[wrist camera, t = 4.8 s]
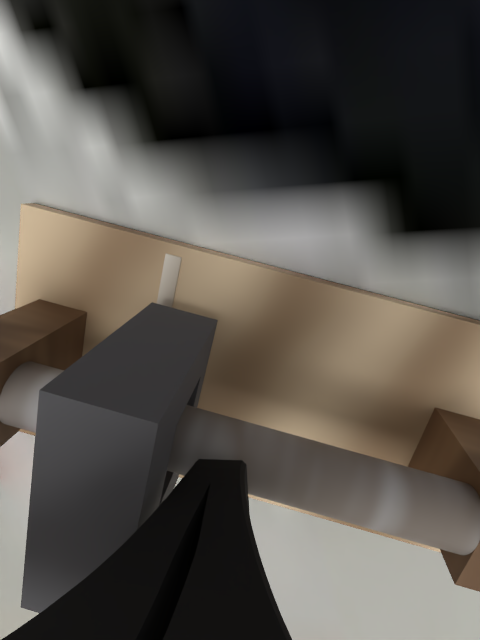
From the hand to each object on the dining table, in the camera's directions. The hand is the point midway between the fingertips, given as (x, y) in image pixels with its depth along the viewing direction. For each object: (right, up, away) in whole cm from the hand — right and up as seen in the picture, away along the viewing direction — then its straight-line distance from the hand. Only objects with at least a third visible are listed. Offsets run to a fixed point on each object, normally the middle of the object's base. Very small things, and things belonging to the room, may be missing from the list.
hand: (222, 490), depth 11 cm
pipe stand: (+1, +2, +6) cm, 6 cm away
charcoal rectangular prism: (-2, +2, +4) cm, 5 cm away
